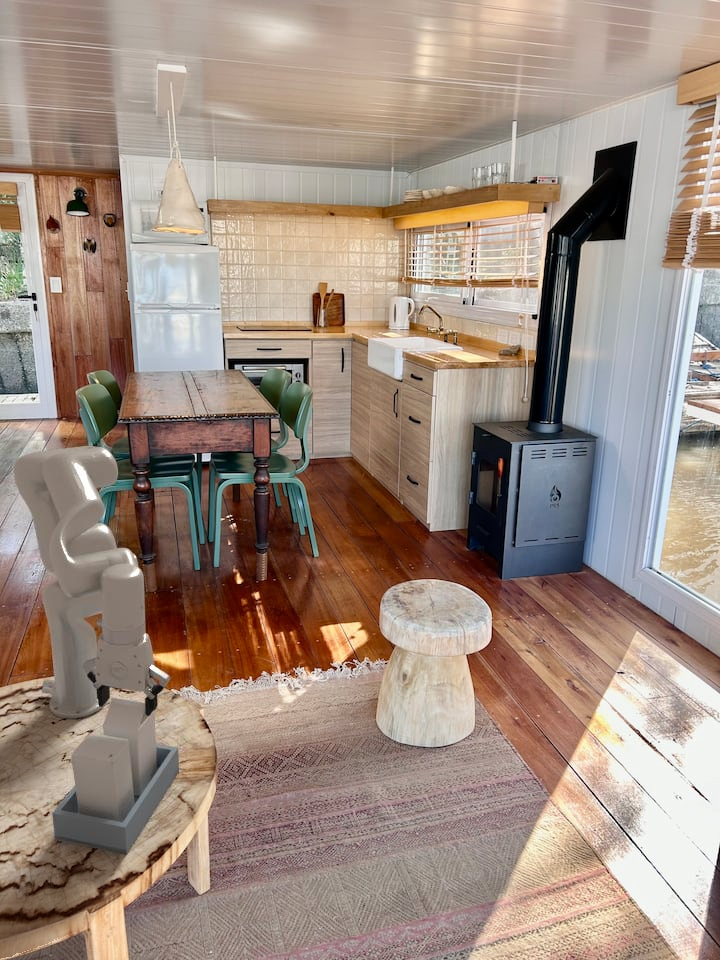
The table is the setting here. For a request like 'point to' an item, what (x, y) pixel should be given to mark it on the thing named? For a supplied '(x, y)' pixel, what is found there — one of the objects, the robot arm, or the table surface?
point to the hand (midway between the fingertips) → (127, 706)
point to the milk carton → (134, 738)
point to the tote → (113, 832)
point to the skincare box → (103, 777)
